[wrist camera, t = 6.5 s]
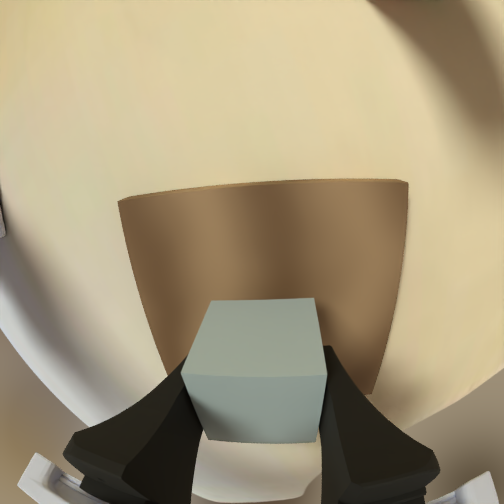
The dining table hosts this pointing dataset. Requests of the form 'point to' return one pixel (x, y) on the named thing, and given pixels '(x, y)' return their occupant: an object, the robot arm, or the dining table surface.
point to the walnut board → (273, 258)
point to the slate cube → (258, 371)
